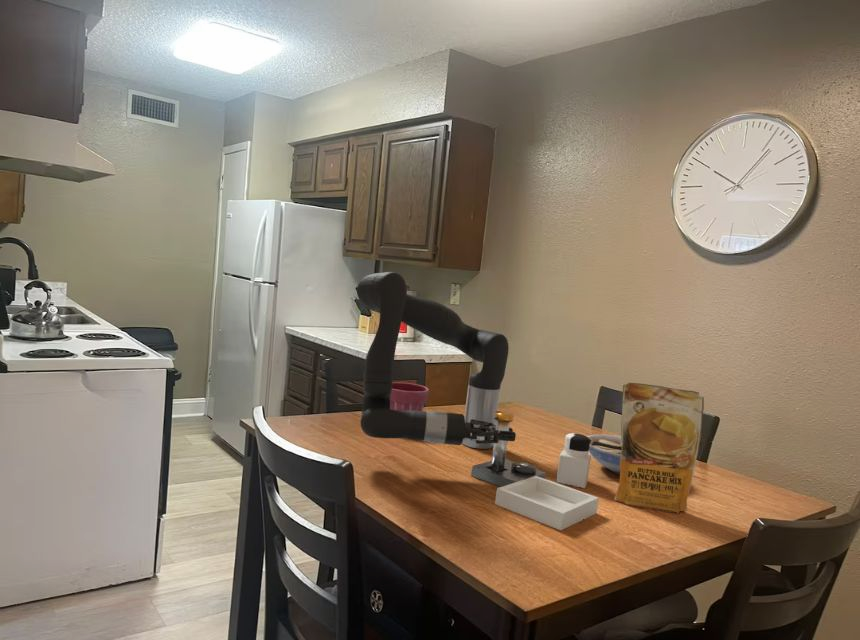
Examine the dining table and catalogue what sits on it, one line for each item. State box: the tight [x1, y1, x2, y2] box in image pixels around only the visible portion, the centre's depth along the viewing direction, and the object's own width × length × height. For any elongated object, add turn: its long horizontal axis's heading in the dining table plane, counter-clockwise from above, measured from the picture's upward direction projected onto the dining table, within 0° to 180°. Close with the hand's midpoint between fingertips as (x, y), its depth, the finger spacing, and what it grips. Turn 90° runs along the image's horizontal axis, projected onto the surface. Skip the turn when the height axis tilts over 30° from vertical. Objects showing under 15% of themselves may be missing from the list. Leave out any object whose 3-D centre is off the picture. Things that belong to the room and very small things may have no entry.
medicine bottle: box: [555, 432, 592, 489], centre depth 154 cm, size 7×7×12 cm
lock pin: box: [491, 410, 515, 472], centre depth 149 cm, size 5×5×14 cm
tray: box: [494, 476, 600, 531], centre depth 133 cm, size 16×16×4 cm
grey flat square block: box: [470, 458, 547, 488], centre depth 150 cm, size 13×13×4 cm
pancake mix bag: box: [613, 382, 705, 514], centre depth 143 cm, size 7×19×28 cm, turn 81°
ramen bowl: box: [586, 434, 622, 475], centre depth 168 cm, size 25×23×8 cm
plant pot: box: [390, 381, 430, 411], centre depth 189 cm, size 14×14×13 cm
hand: (513, 434), depth 150 cm, fingers closed on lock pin, 3 cm apart
